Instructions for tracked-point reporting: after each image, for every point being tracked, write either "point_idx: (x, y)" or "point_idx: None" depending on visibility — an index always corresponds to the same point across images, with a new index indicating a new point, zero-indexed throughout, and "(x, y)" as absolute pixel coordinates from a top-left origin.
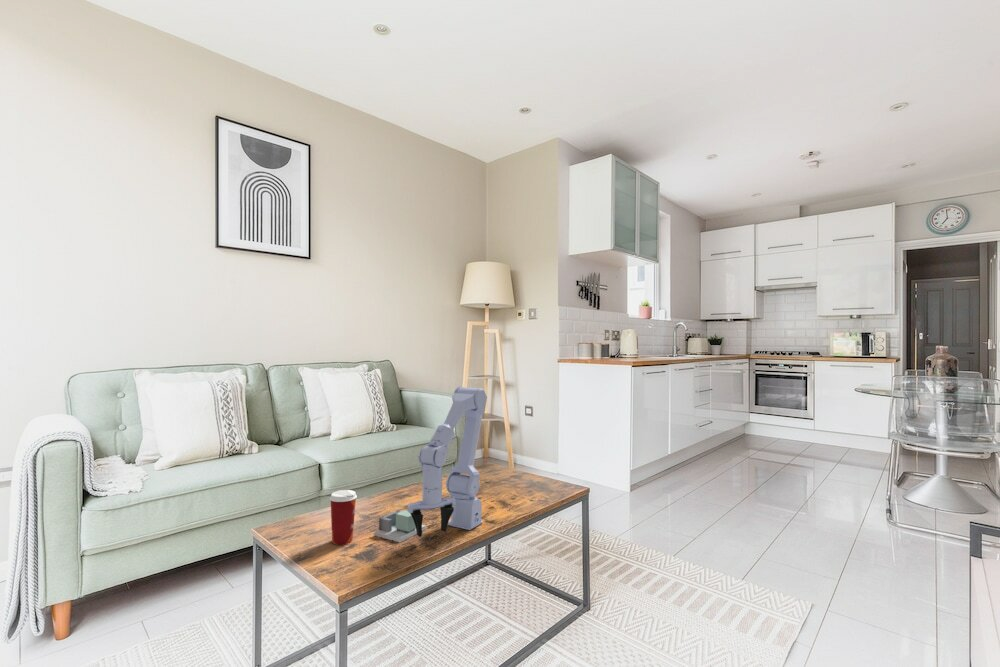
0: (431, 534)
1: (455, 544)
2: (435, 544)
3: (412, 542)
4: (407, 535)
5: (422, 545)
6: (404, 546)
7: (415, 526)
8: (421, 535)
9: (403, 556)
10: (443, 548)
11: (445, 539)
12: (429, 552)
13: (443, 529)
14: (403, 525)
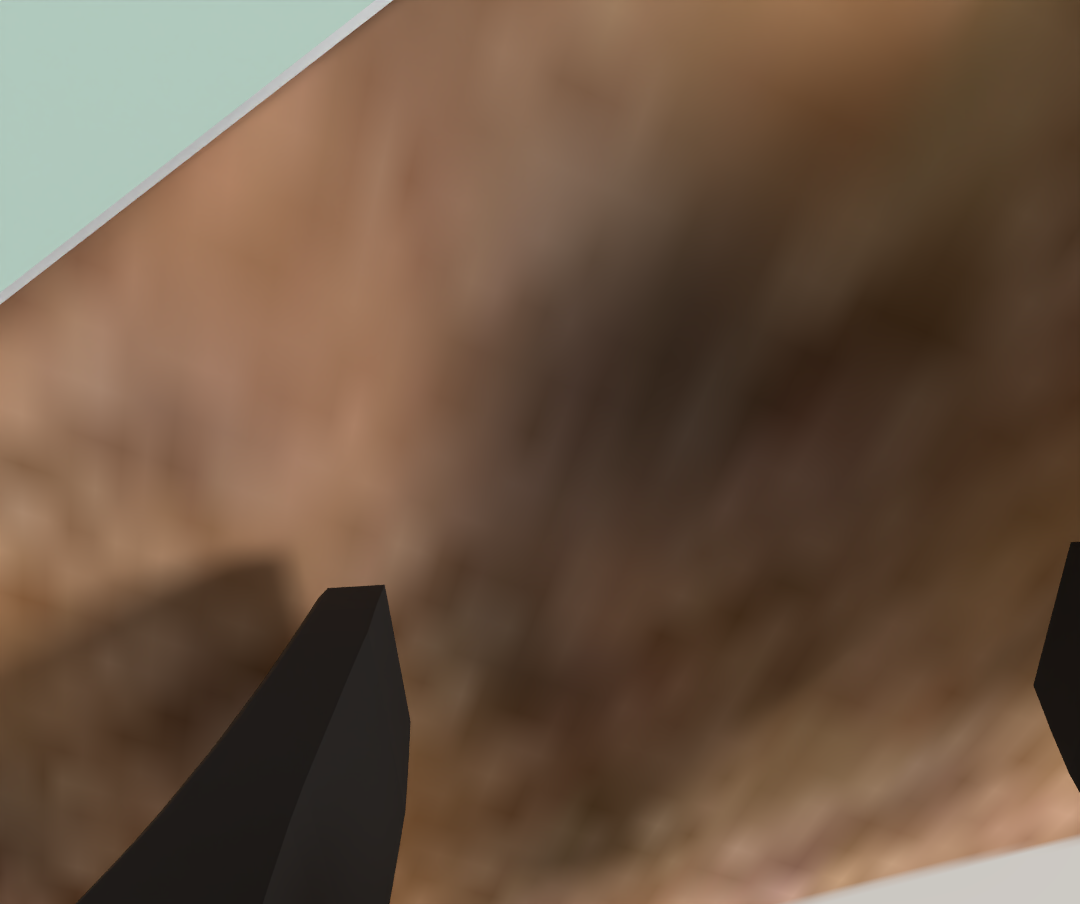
0: (869, 164)
1: (1015, 809)
2: (689, 701)
3: (244, 456)
4: (101, 220)
5: (429, 657)
6: (43, 576)
7: (222, 738)
8: (403, 751)
9: (23, 887)
10: (744, 861)
11: (995, 575)
12: (471, 899)
13: (1068, 708)
14: None
